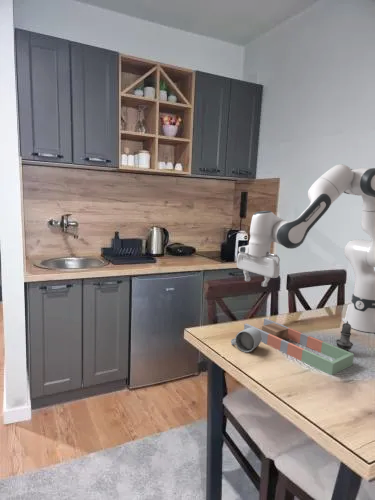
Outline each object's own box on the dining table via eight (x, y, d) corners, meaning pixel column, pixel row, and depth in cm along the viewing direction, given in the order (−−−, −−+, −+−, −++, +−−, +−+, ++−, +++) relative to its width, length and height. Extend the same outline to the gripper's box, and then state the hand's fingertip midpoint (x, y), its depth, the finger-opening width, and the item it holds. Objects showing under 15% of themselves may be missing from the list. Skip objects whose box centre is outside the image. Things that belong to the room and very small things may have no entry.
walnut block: (272, 334, 141) (274, 322, 140) (286, 340, 135) (288, 328, 134) (261, 337, 137) (262, 325, 136) (275, 344, 131) (276, 332, 130)
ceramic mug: (262, 347, 127) (263, 327, 126) (253, 355, 121) (255, 334, 119) (236, 340, 133) (237, 321, 132) (226, 347, 126) (227, 327, 125)
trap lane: (265, 327, 148) (266, 318, 147) (352, 364, 118) (354, 353, 118) (243, 333, 140) (244, 323, 139) (331, 375, 110) (333, 363, 109)
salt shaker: (353, 356, 125) (358, 325, 123) (336, 354, 126) (340, 322, 124) (349, 349, 130) (353, 319, 129) (333, 347, 132) (337, 317, 130)
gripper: (285, 254, 134) (281, 289, 136) (245, 246, 149) (242, 277, 152) (274, 255, 130) (270, 291, 132) (235, 246, 146) (232, 278, 148)
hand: (255, 283), depth 142 cm, fingers open, 8 cm apart
